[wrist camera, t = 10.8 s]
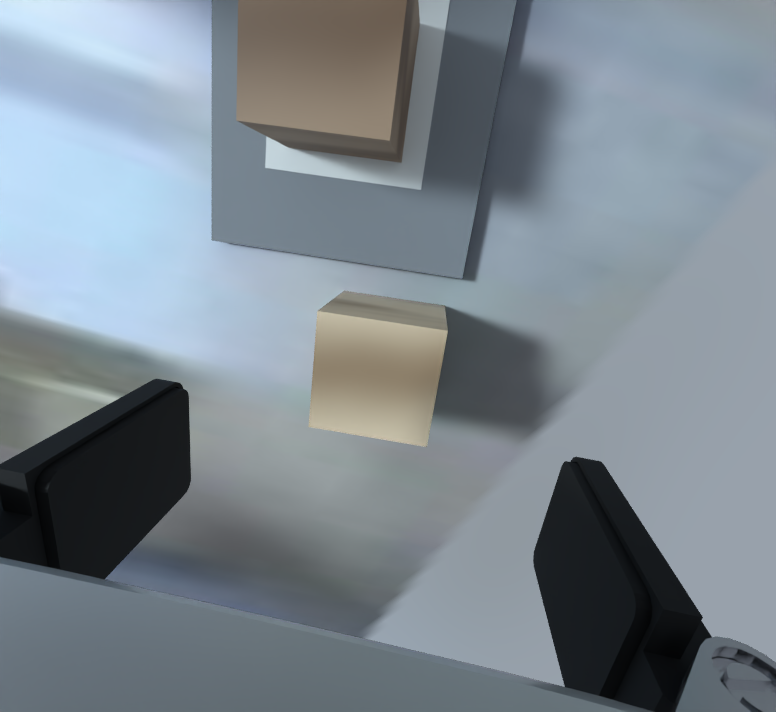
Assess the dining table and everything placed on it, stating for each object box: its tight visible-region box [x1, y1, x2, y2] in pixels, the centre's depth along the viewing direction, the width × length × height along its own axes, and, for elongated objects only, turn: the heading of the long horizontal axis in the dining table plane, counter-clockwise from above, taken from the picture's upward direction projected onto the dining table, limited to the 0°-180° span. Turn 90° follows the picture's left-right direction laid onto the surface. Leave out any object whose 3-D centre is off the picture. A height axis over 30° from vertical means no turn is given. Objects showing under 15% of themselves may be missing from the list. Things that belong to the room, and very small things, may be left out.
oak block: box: [309, 291, 448, 447], centre depth 19 cm, size 5×5×5 cm
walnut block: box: [236, 0, 420, 163], centre depth 15 cm, size 5×5×5 cm
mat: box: [212, 0, 517, 279], centre depth 17 cm, size 14×12×1 cm
